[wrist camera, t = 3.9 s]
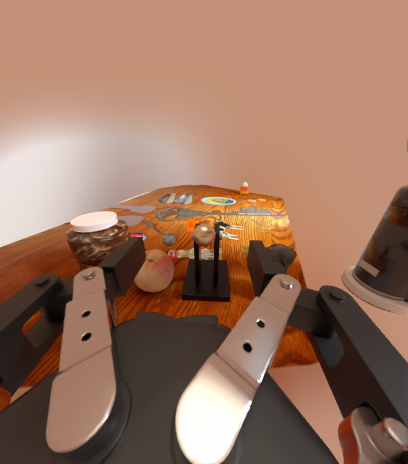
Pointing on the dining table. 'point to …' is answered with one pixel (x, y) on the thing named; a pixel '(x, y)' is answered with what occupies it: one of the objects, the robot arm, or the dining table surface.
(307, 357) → the dining table surface
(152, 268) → the apple
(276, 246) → the figurine
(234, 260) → the dining table surface
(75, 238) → the jar
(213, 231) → the lever
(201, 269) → the bracket
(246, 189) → the candy corn
